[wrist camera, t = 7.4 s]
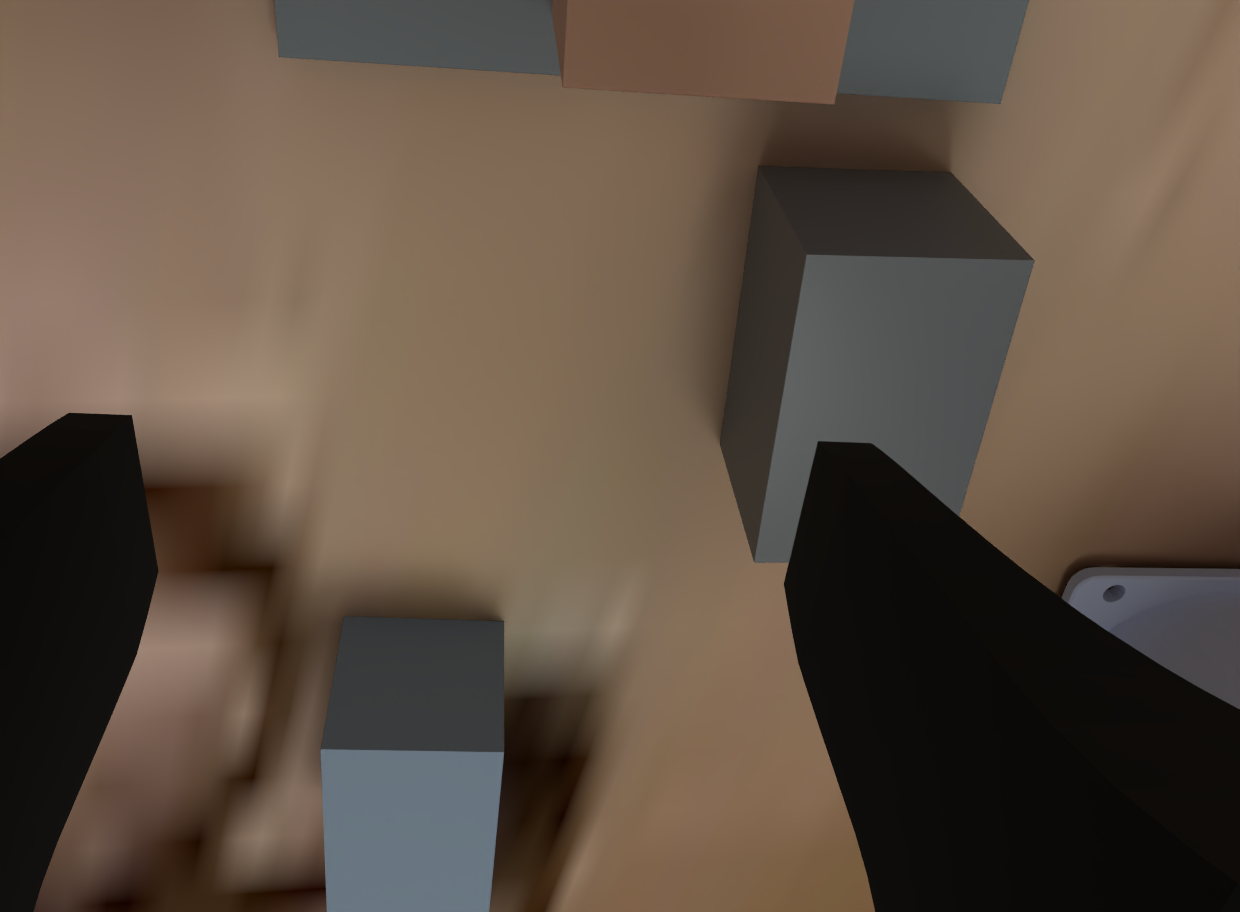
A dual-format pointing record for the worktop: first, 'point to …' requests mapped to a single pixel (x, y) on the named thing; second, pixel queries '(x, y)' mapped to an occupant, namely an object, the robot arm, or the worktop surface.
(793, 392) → the charcoal brick
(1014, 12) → the slate mat
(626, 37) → the terracotta brick
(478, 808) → the dusty-blue brick
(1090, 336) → the worktop surface
